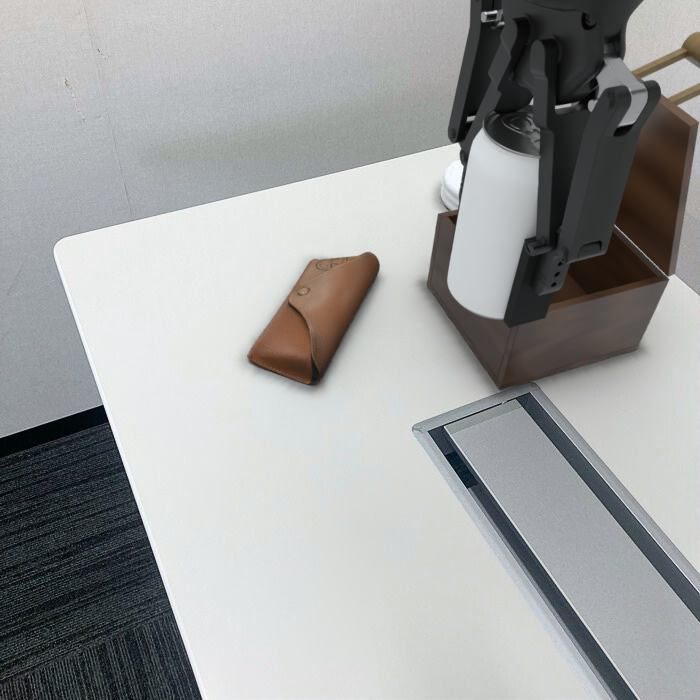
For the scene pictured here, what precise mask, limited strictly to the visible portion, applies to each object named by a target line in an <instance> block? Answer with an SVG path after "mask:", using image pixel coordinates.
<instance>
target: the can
mask: <svg viewBox="0 0 700 700" xmlns="http://www.w3.org/2000/svg"><path fill="white" fill-rule="evenodd" d="M539 149H540V129H539V127H537V126H535V125H534V123H533V103H530V104H529V105H527V106H525V107H524V108H522V109H521V110H519V111H517V112H511V113H505V114H501V115H499V114H497V113H496V112H494V111H493V110H492V111H490V112H489V113H488V114H487V115H486V116H485V118H484V120H483V128H482V129H481V130H480V131H479V133H478V134H477V135H476V137H475V138H474V140H473V143H472V146H471V150H470V154H469V159H468V164H467V170H466V175H465V180H464V186H463V191H462V197H461V202H460V208H459V213H458V219H457V224H456V230H455V236H454V241H453V247H452V253H451V258H450V264H449V270H448V277H447V283H448V288H449V290H450V292H451V294H452V295H453V297H454V298H455V299H456V300H457V301H458V303H459V304H460V305H462V306H463V307H464V308H465V309H467V310H468V311H470V312H472V313H474V314H476V315H479V316H482V317H485V318H490V319H497V320H503V319H504V315H505V311H506V307H507V304H508V300H509V296H510V292H511V289H512V285H513V281H514V278H515V274H516V270H517V266H518V263H519V259H520V255H521V251H522V248H523V244H524V240H525V239H527V238H531V237H535V236H536V225H537V199H538V174H539V159H540V155H539Z"/></svg>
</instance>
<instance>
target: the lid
mask: <svg viewBox="0 0 700 700" xmlns="http://www.w3.org/2000/svg"><path fill="white" fill-rule="evenodd" d="M684 59H685V60H686V61H687V62H689V63H691V64H692V65H693V66H695V67H696V68H698V69H700V31H695V32H693V33H691V34H689V35H688V36H687V37H686V39H684V41H683V43H682V45H681V47H680V48H678V49H676V50H674V51H671V52H670V53H667V54H665V55H663V56H661V57H659V58H657V59H655V60H653V61H650V62H648V63H646V64H644V65H642V66H640V67H638V68H635V69H633V70H630V71H631V73H632V74H633V75H634V77H635V78H636V79H637V81H639V82H642V81H644V78H645V77H648V76H650V75H652V74H654V73H656V72H658V71H661V70H663V69H665V68H667V67H669V66H671V65H673V64H675V63H677V62H680V61H682V60H684ZM698 96H700V82H699V83H696V84H694V85H692V86H690V87H687V88H686V89H683V90H682V91H679V92H677V93H675V94H673V95H671V96H669V97H667V96H665V95H664V94H663V93H661V98H660V101H659V103H658V104H657V106H656V108H655V109H654V111H653V112H652V114H651V115H650V117H649V118H648V120H647V122H646V123H645V125H644V126H643V128H642V129H641V133H640V136H639V140H638V143H637V147H636V150H635V154H634V157H633V161H632V164H631V168H630V171H629V175H628V179H627V182H626V186H625V189H624V193H623V196H622V200H621V203H620V207H619V210H618V214H617V217H616V221H615V224H614V225H615V226H616V227H617V228H618V229H619V230H620V231H621V232H622V233H623V234H624V235H625V236H626V237H627V238H628V239H629V240H630V241H631V242H632V243H633V244H634V245H635V246H636V247H637V248H638V249H639V250H640V251H641V252H642V253H643V254H644V255H645V256H646V257H647V258H648V259H649V260H650V261H651V262H652V263H653V264H654V265H655V266H656V267H657V268H658V269H659V270H661V271H662V272H663V273H664V275H666V276H667V277H668V278H669V277H671V276H674V275H675V274H676V270H677V264H678V259H679V251H680V245H681V239H682V234H683V233H682V232H683V227H684V220H685V215H686V208H687V207H686V206H687V202H688V195H689V188H690V184H691V183H690V181H691V177H692V176H691V175H692V170H693V165H694V164H693V163H694V158H695V150H696V143H697V136H698V131H699V126H700V121H698V120H697V119H696V118H695V117H693V116H692V115H691V114H689V113H688V112H686V111H685V110H684V109H683V108H681V107H679V106H680V105H682V104H684V103H686V102H688V101H690V100H692V99H695V98H696V97H698ZM578 103H579V101H578V102H576V103H571V104H570V106H575V105H577V104H578Z"/></svg>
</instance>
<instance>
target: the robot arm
mask: <svg viewBox="0 0 700 700" xmlns="http://www.w3.org/2000/svg"><path fill="white" fill-rule="evenodd" d="M469 1H470V5H469V6H470V7H469V8H470V9H469V26H468V27H469V28H468V32H467V37H466V41H465V46H464V50H463V51H464V52H463V56H462V60H461V65H460V70H459V74H458V80H457V84H456V88H455V89H456V90H455V93H454V98H453V103H452V108H451V112H450V117H449V121H448V127H447V137H448V140H449V141H450V143H451V144H457V143H458V145H459V147H460V150H459V159H460V161H461V164H462V165H463V166H464V167H463V173H462V179H461V184H460V190H459V206H458V212H457V217H456V223H455V228H454V234H453V239H452V245H451V250H450V252H451V253H452V247H453V241H454V236H455V230H456V224H457V219H458V213H459V208H460V202H461V197H462V191H463V186H464V180H465V175H466V170H467V164H468V159H469V154H470V150H471V146H472V143H473V140H474V138H475V137H476V135H477V134H478V133H479V131H480V130H481V129H482V128H483V120H484V118H485V116H486V115H487V114H488V113H489V112H490V111H492V110H493V111H494V112H496V113H497V114H499V115H501V114H505V113H511V112H517V111H519V110H521V109H522V108H524V107H525V106H527V105H529V104H533V123H534V125H535V126H537V127H539V129H540V149H539V155H540V159H539V174H538V199H537V225H536V236H535V237H531V238H527V239H525V240H524V244H523V248H522V251H521V255H520V259H519V263H518V266H517V270H516V274H515V278H514V281H513V285H512V289H511V292H510V296H509V300H508V304H507V307H506V311H505V315H504V319H503V321H504V322H505V324H506V325H507V326H508V327H509V328H512V327H515V326H519V325H522V324H526V323H529V322H533V321H536V320H540V319H544V318H546V315H547V312H548V309H549V306H550V302H551V299H552V296H553V293H554V291H558V290H559V289H560V288H561V287H562V286H563V283H564V280H565V277H566V273H567V271H568V268H569V265H570V263H571V262H575V261H579V260H583V259H587V258H591V257H595V256H598V255H602V254H604V253H606V251H607V249H608V245H609V242H610V238H611V235H612V231H613V228H614V224H615V221H616V217H617V214H618V210H619V207H620V203H621V200H622V196H623V193H624V189H625V186H626V182H627V179H628V175H629V171H630V168H631V164H632V161H633V157H634V154H635V150H636V147H637V143H638V140H639V136H640V133H641V129H642V128H643V126H644V125H645V123H646V122H647V120H648V118H649V117H650V115H651V114H652V112H653V111H654V109H655V108H656V106H657V104H658V103H659V101H660V98H661V94H662V88H661V86H660V84H659V82H658V81H656V80H654V79H648V80H643V81H642V82H639V81H637V79H636V78H635V77H634V75H633V74H632V73H631V71H632V70H630V69H629V67H628V66H627V65H626V63H625V62H624V59H625V57H626V53H627V52H626V51H627V41H626V40H627V27H628V23H629V20H630V19H631V16H632V15H633V13H634V12H635V11H636V9H637V8H638V7H639V6H641V4H642V3H643V2H644V1H645V0H469ZM578 101H579V103H578V104H577V105H575V106H571V103H576V102H578ZM565 105H570V106H565ZM558 106H564V107H559V108H556V107H558ZM470 117H471V118H472V117H474V119H470V120H468V118H470Z"/></svg>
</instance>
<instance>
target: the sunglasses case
mask: <svg viewBox="0 0 700 700" xmlns="http://www.w3.org/2000/svg"><path fill="white" fill-rule="evenodd" d="M380 269H381V263H380V260H379V258H378V256H376V254H375V253H373V252H371V251H366V252H365V251H364V252H363V253H360V254H358V255H353V256H342V257H340V256H339V257H330V258H323V259H318V258H313V259H311V260H310V261H309V262H308V264H307V265H306V267H304V270H303V271H302V273H301V275H300V276H299V278H298V280H297V281H296V283H295V285H294V286H293V287H292V289H291V291H290V292H289V294H288V295H287V296H286V298H285V299H284V301H283V302H282V304H281V305H280V307H279V308H278V310H277V311H276V313H275V314H274V316H273V317H272V318H271V319H270V321H269V323H268V324H267V325H266V327H265V328H263V330H262V332H261V334H260V335H259V336H258V337H257V339H256V340H255V342H254V343H253V344H252V346H251V347H250V349H249V351H248V352H247V356H246V357H247V359H248V360H249V361H250V362H251V363H252V364H254V365H257V366H259V367H261V368H262V369H265V370H267V371H270V372H272V373H274V374H277V375H280V376H282V377H285V378H288V379H289V380H293V381H295V382H299V383H301V384H305V385H307V386H309V385H315V384H317V383H319V382H321V380H322V379H323V377H324V376H325V374H326V372H327V370H328V368H329V366H330V364H331V362H332V360H333V358H334V357H335V354H336V352H337V350H338V349H339V347H340V345H341V344H342V341H343V340H344V338H345V336H346V334H347V332H348V331H349V328H350V326H351V325H352V323H353V320H354V319H355V317H356V315H357V313H358V312H359V310H360V308H361V306H362V304H363V302H364V300H365V298H366V297H367V295H368V293H369V291H370V289H371V288H372V286H373V285H374V283H375V281H376V279H377V276H378V275H379V272H380Z"/></svg>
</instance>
